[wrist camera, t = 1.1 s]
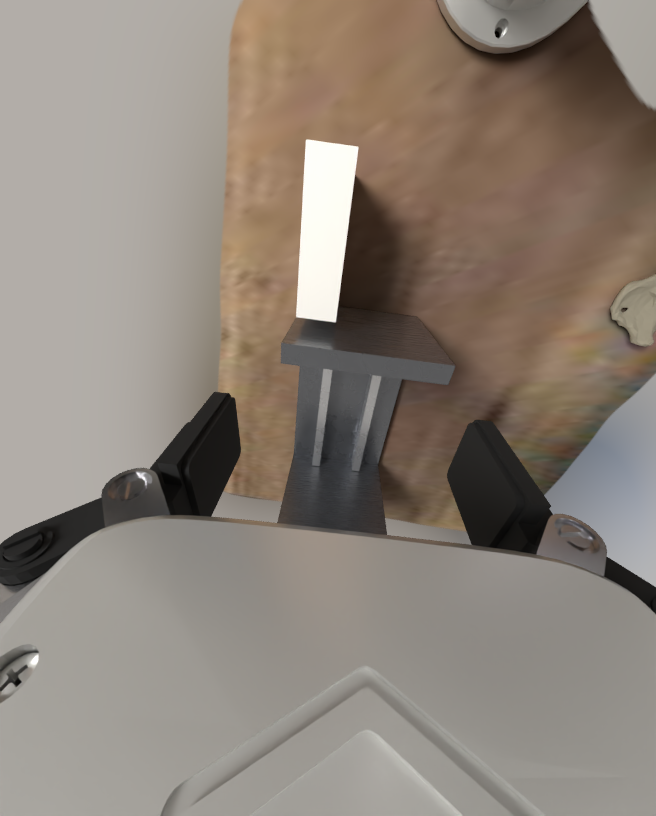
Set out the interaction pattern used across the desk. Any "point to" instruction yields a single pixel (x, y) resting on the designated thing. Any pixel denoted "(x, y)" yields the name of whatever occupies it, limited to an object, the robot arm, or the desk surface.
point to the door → (324, 227)
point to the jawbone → (637, 310)
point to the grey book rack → (350, 411)
